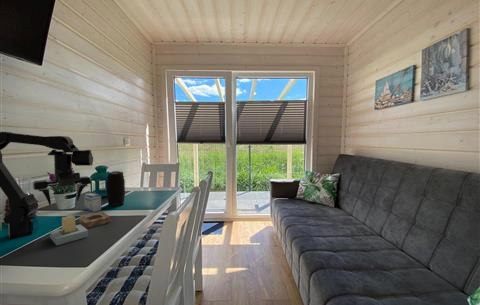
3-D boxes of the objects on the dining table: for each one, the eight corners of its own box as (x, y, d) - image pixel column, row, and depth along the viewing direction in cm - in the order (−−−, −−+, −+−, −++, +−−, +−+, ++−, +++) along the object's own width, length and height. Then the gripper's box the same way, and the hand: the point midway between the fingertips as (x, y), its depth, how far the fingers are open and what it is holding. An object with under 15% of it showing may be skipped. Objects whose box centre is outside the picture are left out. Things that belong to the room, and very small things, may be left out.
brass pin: (65, 240, 86) (64, 219, 85) (62, 237, 88) (61, 217, 87) (76, 237, 88) (75, 217, 88) (73, 234, 91) (72, 215, 90)
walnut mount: (86, 228, 97) (85, 222, 97) (78, 223, 103) (78, 217, 103) (110, 222, 104) (110, 216, 104) (102, 217, 111) (102, 212, 111)
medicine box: (84, 210, 122) (84, 194, 122) (93, 207, 126) (92, 192, 126) (93, 212, 119) (92, 196, 118) (101, 209, 123) (101, 194, 122)
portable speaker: (128, 204, 133) (127, 171, 132) (111, 208, 125) (110, 173, 124) (120, 202, 138) (119, 170, 137) (104, 205, 130) (103, 172, 129)
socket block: (56, 245, 81) (56, 238, 81) (50, 237, 88) (49, 231, 87) (88, 236, 89) (88, 230, 89) (80, 229, 95) (80, 224, 95)
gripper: (35, 169, 81) (36, 211, 82) (94, 166, 95) (95, 202, 96) (32, 167, 89) (33, 205, 90) (87, 164, 103) (88, 197, 104)
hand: (64, 202), depth 95 cm, fingers open, 9 cm apart
